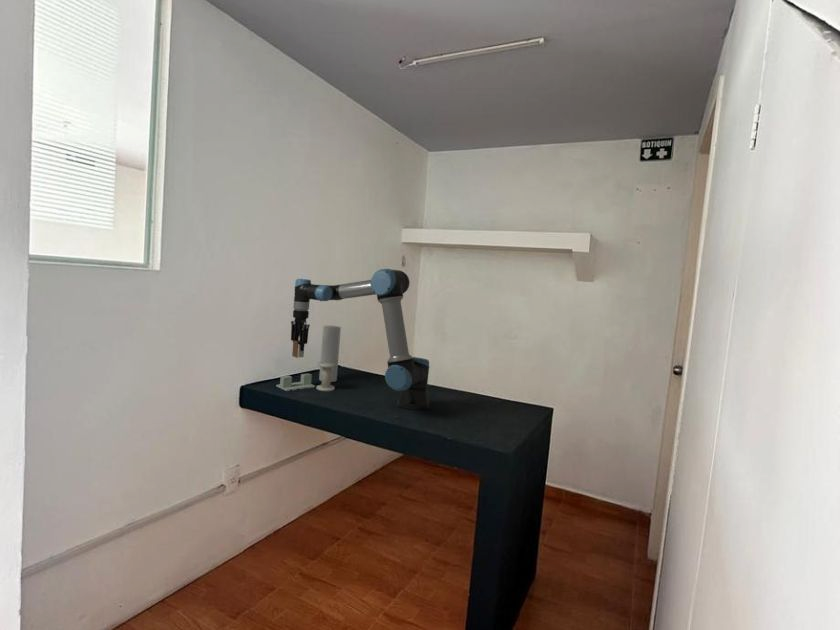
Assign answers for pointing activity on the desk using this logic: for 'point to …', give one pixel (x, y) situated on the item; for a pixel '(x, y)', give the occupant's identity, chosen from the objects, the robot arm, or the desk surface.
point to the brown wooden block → (295, 348)
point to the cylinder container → (330, 349)
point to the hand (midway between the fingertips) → (297, 356)
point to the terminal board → (288, 385)
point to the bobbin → (326, 376)
